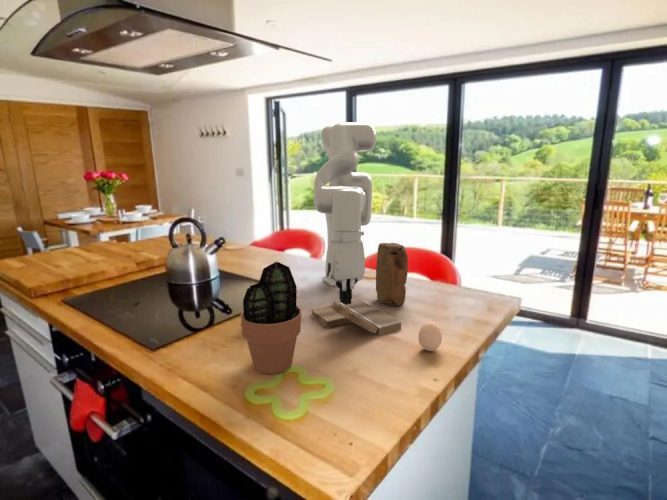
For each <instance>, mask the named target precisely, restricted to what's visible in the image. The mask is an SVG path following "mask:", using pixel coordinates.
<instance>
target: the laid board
mask: <svg viewBox="0 0 667 500" xmlns="http://www.w3.org/2000/svg"><path fill="white" fill-rule="evenodd" d="M339 304H340V305H342V306H343V307H345V308H347V309H348V310H350V311H352V312H353V313H355V314H356V315H358V316H360V317H361V318H363V319H365V320H366V321H368V322H369V323H371V324H373V325H374V326H376V327H378V329H377V331H376V333H377V335H382V334H386V333H390V332H393V331H397V330H401V329H402V322H401V321H400V320H398V319H397V318H395V317H392V316H391V315H389V314H387V313H385V312H383V311H382V310H380V309H378V308H376V307H375V306H373V305H371V304H369V303H367V302H365V301H363V300H361V299H356V300H351V304H348V305H345V304H343V303H341V302H340V303H339ZM376 333H375V334H376Z"/></svg>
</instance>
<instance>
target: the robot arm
mask: <svg viewBox="0 0 667 500" xmlns="http://www.w3.org/2000/svg"><path fill="white" fill-rule="evenodd" d="M320 136H321V137H320V138H321V143H322V146H323V148H324V150H325V153H326V155H327V159H328V161H326V162H325V163H324V164H322V166H321V167H320V169H319V170H318V172H317V173H316V175H315V178H314V183H313V185H314V186H313V187H314V188H313V204H314V208H315V210H316V211H317V212H318V213H320V214H325V221H326V229H327V232H326V233H327V249H326V257H325V271H324V272H325V275H324V277H323V281H324V282H325V283H327V284H328V285H330V286H336V287H337V288H338V289H339V290H338V291H339V293H338V294H339V297H338V298H339V302H340V303H343V304H345V305H348V304H351V301H352V299H353V290H354V289H355V285H356V284H357V283H358V282H359V281H363V280H364V277H365V276H364V274H365V271H366V262H365V261H366V258H365V248H364V243H363V240H361V239H362V236H364V235H365V232H364V230H363V229H361V228H362V226H363V227H364V226H367V225H369V224H370V222H371V219H372V218H371V217H372V204H373V203H372V201H373V200H372V198H373V180H372V176H371V175H370V174H368V173H367V172H361V171H360V172H354V171H356V169H357V167H358V165H359V154H358V153H359V152H360V153H361V152H365V153H366V152H371V151H373V150H374V149H375V147H376V144H377V131H376V128H375V126H374V125H373V124H372V123H369V122H338V123H337V124H334V125H329V126H325V127H324V128H323V129H322V130H321V135H320ZM327 184H328V185H327Z"/></svg>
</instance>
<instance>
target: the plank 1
mask: <svg viewBox="0 0 667 500" xmlns="http://www.w3.org/2000/svg"><path fill="white" fill-rule="evenodd" d="M338 304H339V305H340V303H338ZM331 306H332V305H329V306H323V307H318V308H314V309H311V312H310V313H311V316H312V317H313V318H314V319H315V320H317V321H318V322H319V323H320V324H322V325H324V327H326V328H327V329H328V328H329V329H330V328H333V327H337V326H340V325H345V324H348V323H349V324H350V323H353V322H352V321H350V320H348V319H347V318H345V317H344V316H342V315H341V314H339V313H338V312H336V311H335V310H333V309H332V308H331ZM340 306H342V305H340ZM342 307H343V306H342ZM344 308H345V307H344ZM346 309H347V308H346ZM347 310H348V309H347ZM349 311H350V310H349ZM351 312H352V311H351Z"/></svg>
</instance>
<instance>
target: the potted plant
mask: <svg viewBox="0 0 667 500" xmlns="http://www.w3.org/2000/svg"><path fill="white" fill-rule="evenodd" d="M297 288H298V287H297V284H296V281H295V279H294V276H293V274H292V271H291V269H290V266H287V265H285V264H283V263H281V262H279V261H275V262H273V263H271V264H269V265H267V266H265V267H264V268H263V269H262V271H261V275H260V278H259V280H258V282H257V283H255V284H251V285H249V287H248V288H247V289H246V292H245V294H244V296H243V300H242V308H243V309H242V311H241V313H240V324H241V325H240V326H241V332H242V333H241V334H242V336H243V338H244V339H245V340H246V343H247V347H248V350H249V353H250V359H251V361H252V365H253V368H254V370H256V371H257V372H258V373H262V374H267V375H274V374H275V375H276V374H279V372H281V373H282V371H283V372H285V371H287V370H288V369H290V368H291V366H292V364H293V359H294V354H295V349H296V348H295V347H296V345H297V339H298V338H297V337H298V336H299V335H300V333H301V330H302V329H301V326H302V325H301V323H302V310H301V308H300V307H299V306H298V305H297V298H298V296H297ZM286 369H287V370H286ZM284 370H285V371H284Z"/></svg>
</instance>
